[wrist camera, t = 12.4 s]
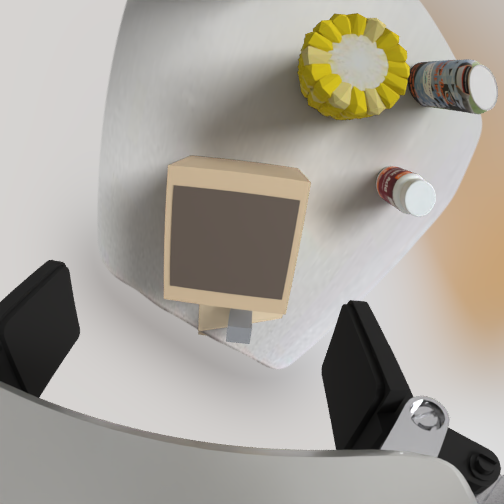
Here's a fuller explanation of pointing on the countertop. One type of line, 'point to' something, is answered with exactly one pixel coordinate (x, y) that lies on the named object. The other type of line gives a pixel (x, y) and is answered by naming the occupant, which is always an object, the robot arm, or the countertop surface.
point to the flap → (232, 321)
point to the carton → (232, 232)
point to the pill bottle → (406, 191)
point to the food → (352, 67)
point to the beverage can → (454, 85)
